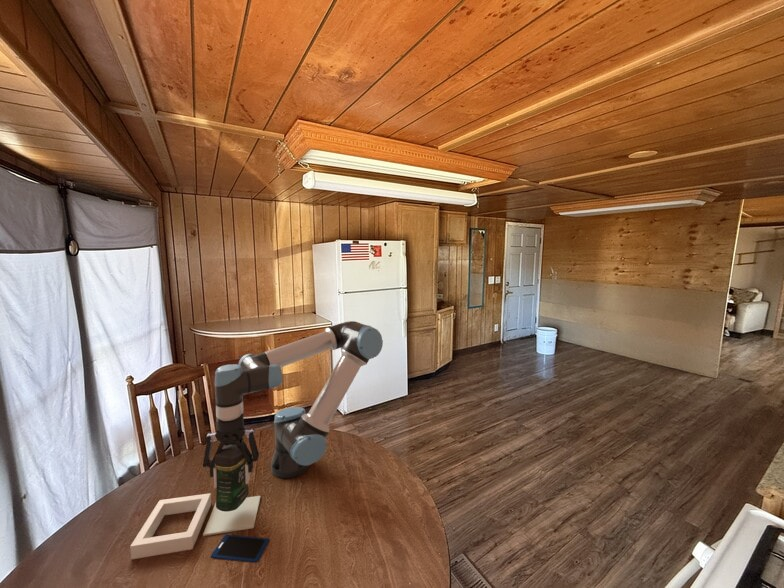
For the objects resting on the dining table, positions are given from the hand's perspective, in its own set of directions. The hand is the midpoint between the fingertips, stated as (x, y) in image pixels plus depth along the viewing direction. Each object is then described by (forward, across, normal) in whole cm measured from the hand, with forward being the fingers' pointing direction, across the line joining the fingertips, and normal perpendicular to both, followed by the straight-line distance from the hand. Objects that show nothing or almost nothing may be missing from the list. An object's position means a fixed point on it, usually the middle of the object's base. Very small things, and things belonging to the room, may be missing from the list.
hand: (232, 482), depth 102 cm
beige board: (+11, 0, 0) cm, 11 cm away
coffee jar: (+7, 0, 0) cm, 7 cm away
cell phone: (+12, -5, +13) cm, 18 cm away
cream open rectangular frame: (+11, +16, +2) cm, 20 cm away
